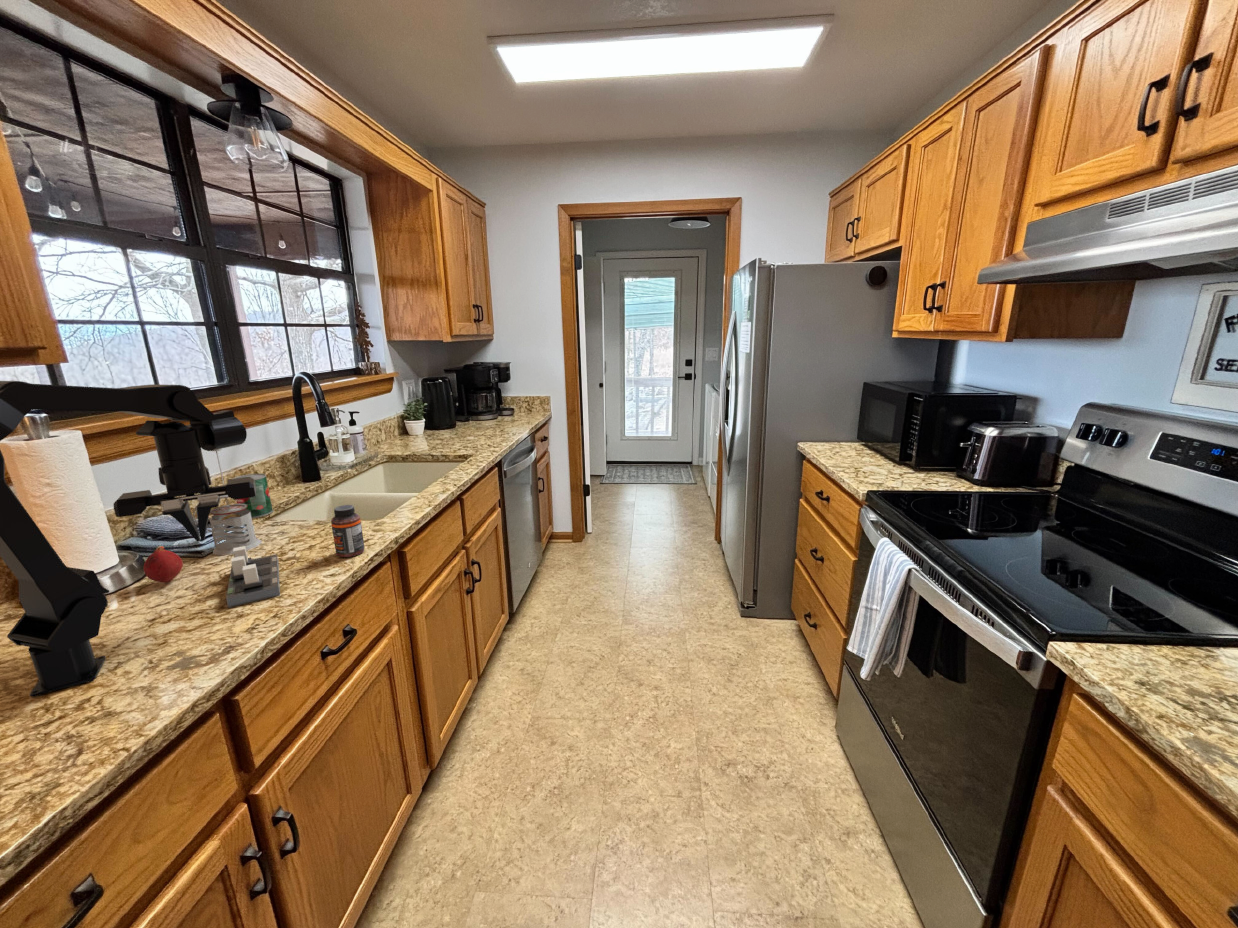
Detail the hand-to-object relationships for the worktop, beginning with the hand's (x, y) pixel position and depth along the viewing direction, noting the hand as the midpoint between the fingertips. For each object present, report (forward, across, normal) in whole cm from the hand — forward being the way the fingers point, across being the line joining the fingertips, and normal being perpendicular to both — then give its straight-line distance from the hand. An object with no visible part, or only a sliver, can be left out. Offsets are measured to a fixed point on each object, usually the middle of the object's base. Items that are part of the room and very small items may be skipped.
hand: (200, 540), depth 90 cm
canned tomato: (+13, -5, -58) cm, 59 cm away
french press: (+13, -1, -32) cm, 35 cm away
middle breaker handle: (+11, -4, -6) cm, 13 cm away
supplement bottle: (+13, -24, -11) cm, 30 cm away
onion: (+13, +9, -17) cm, 23 cm away
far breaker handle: (+11, -4, -12) cm, 17 cm away
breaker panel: (+13, -6, -6) cm, 16 cm away
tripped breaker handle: (+11, -6, 0) cm, 12 cm away
